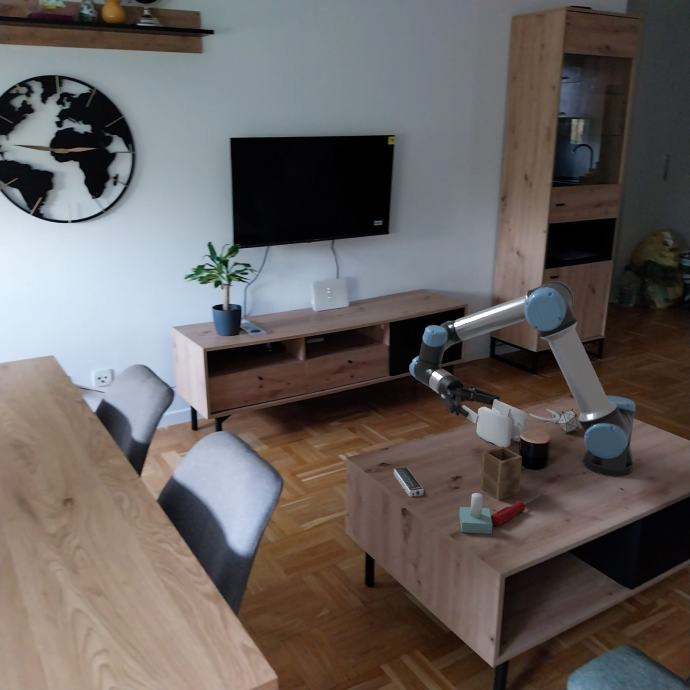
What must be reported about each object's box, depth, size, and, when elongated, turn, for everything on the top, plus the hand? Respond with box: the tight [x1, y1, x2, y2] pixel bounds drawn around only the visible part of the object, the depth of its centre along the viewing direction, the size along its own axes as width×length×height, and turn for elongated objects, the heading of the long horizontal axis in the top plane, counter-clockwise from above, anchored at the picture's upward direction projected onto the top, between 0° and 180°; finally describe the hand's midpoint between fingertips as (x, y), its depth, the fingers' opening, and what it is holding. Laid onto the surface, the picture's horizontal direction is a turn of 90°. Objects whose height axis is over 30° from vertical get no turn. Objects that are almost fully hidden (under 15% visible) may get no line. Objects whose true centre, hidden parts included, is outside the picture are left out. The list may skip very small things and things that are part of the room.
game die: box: [554, 408, 581, 435], centre depth 251 cm, size 9×8×10 cm
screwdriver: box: [490, 490, 549, 527], centre depth 201 cm, size 4×25×4 cm, turn 131°
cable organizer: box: [476, 401, 529, 449], centre depth 244 cm, size 15×11×12 cm
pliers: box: [529, 408, 560, 423], centre depth 263 cm, size 10×2×15 cm
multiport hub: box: [393, 466, 424, 498], centre depth 215 cm, size 4×14×2 cm, turn 15°
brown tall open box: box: [479, 447, 523, 501], centre depth 210 cm, size 8×8×12 cm
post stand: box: [458, 492, 493, 535], centre depth 193 cm, size 8×8×9 cm
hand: (493, 416), depth 211 cm, fingers open, 13 cm apart
